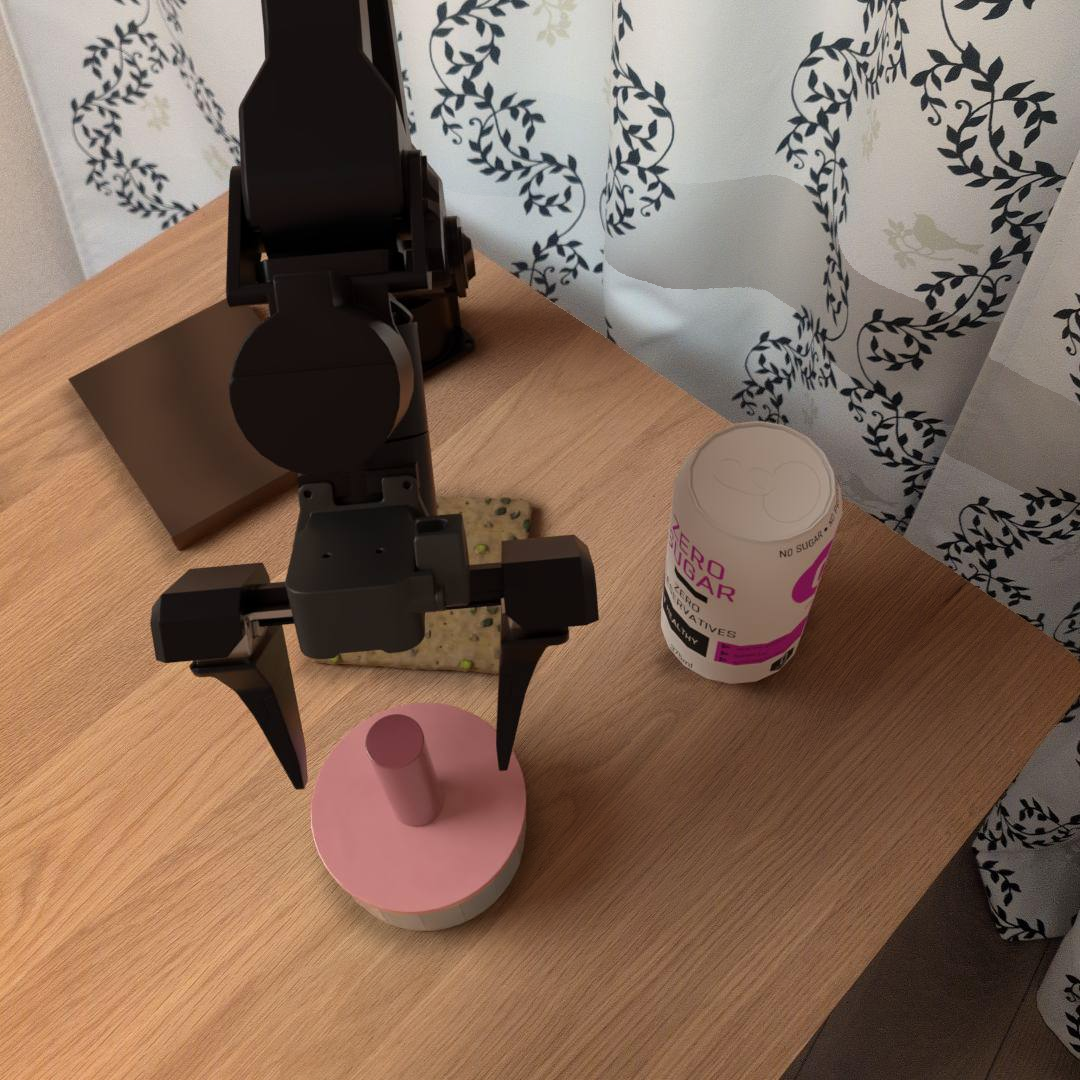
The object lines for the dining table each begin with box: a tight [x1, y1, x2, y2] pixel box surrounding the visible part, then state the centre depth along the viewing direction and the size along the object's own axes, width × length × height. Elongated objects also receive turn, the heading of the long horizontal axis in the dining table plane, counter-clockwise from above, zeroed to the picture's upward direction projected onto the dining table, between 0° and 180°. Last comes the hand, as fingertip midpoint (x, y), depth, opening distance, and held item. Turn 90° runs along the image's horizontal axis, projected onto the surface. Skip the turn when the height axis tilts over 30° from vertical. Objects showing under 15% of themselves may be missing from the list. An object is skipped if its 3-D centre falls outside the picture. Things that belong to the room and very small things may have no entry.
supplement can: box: [660, 420, 844, 685], centre depth 61 cm, size 8×8×15 cm
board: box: [67, 297, 298, 551], centre depth 77 cm, size 13×16×2 cm
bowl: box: [350, 819, 527, 932], centre depth 60 cm, size 10×10×4 cm
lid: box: [309, 702, 527, 915], centre depth 55 cm, size 11×11×9 cm
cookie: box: [312, 496, 533, 675], centre depth 69 cm, size 12×12×1 cm
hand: (402, 777), depth 52 cm, fingers open, 9 cm apart
